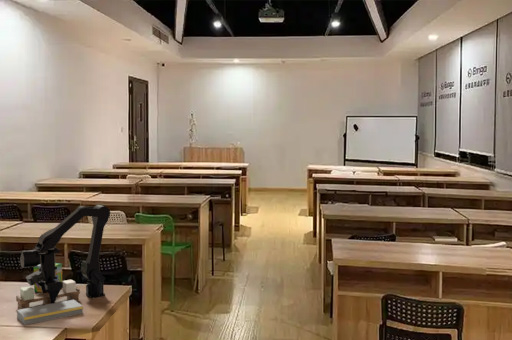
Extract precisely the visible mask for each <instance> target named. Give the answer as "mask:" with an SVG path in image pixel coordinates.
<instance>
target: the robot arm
mask: <svg viewBox="0 0 512 340" xmlns="http://www.w3.org/2000/svg"><path fill="white" fill-rule="evenodd" d="M110 215H111V210H110V209H109V207H108V206H105V205H101V204H97V205H95V206H84V205H83V206H82V205H80V206H77V207H76V208H75V210H74V211H73V212H71V213H70V214H69V215H68V216H67V217H65V218H64V219H63V220H62V221H61V222H60V223H58V224H57V225H56V226H55V227H54V228H52V229H49V230H47V231H45V232H44V233H42V234H41V235H40V236H39V237H38V241H37V243H36V245H35V246H34V247H33V249H30V250H22V251H21V254H20V258H19V260H20V261H19V262H20V267H21V268H22V269H26V268H31V267H33V268H34V266H38V265H39V264H41V266H40V267H39V271H37V272H34V271H33V272H32V273H29V275H25V279H26V281H27V283H28V284H29V286H31V287H33V286H34V284H35V283H37V284H38V285H40V287H41V290H42V292H41V293H47V292H49V297H50V302H51V304H52V303H54V302H55V303H56V300H57V299H58V298H57V296H58V294H59V292H60V290H62V288H63V283H62V282H61V281H59V280H54V279H57V276H56V271H55V270H56V269H57V267H56V266H55V263H56V254H60V253H61V250H59V249H58V248H57V247H56V246H57V245H58V244H59V242H60V241H61V239H62V237H63V236H64V235H65V234H66V233H67V232H68V231H69V230H70V229H72V228H73V226H75V225H76V224H77V223H78V222H79V221H81V220H82V219H83V218H84V217H91V221H92V225H93V226H92V230H91V231H92V232H91V237H90V243H89V248H88V253H87V254H88V255H87V258H86V259H85V260H81V261H82V262H81V268H80V271H81V274H82V276H83V277H84V278H85V279H86V280H87V281H86V285H85V295H86V296H87V295H88V297H89V298H91V299H92V298H97V297H102V296H106V293H105V292H104V285H105V284H104V283H105V280H106V277H105V276H104V275H103V274H102V273H101V265H100V261H99V258H100V252H101V247H102V242H103V235H104V229H105V226H106V224H108V222H109V218H110V217H111V216H110Z"/></svg>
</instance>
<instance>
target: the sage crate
mask: <svg viewBox="0 0 512 340" xmlns="http://www.w3.org/2000/svg"><path fill="white" fill-rule="evenodd" d="M19 290H20V291H19V292H20V294H19V297H20V298H22V299H23V300H30V299H34V295H35V292H34V287H33V286H31V285H29V286H22V287H19Z"/></svg>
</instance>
